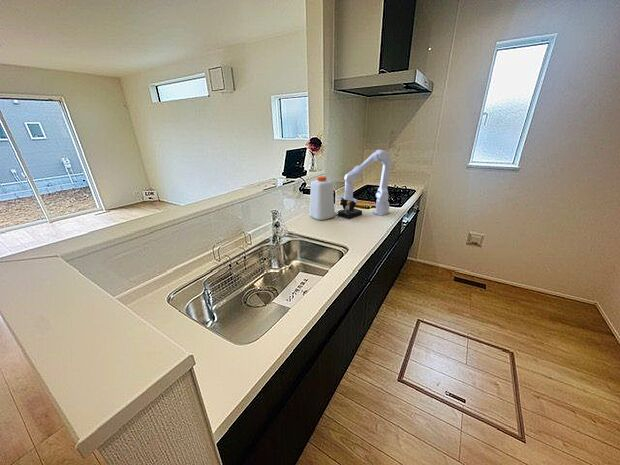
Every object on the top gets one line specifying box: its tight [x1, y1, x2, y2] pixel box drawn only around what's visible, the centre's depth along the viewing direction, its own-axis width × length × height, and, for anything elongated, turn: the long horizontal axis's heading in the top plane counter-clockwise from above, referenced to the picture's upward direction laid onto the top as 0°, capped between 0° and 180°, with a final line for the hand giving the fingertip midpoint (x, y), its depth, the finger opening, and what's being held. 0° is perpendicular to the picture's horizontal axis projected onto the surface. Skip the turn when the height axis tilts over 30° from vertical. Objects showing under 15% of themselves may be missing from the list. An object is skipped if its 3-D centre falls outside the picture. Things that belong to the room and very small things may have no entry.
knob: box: [344, 204, 350, 212], centre depth 178 cm, size 4×4×4 cm
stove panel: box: [337, 207, 363, 220], centre depth 179 cm, size 14×10×3 cm
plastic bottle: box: [309, 175, 336, 221], centre depth 173 cm, size 15×15×28 cm
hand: (348, 210), depth 179 cm, fingers open, 6 cm apart
